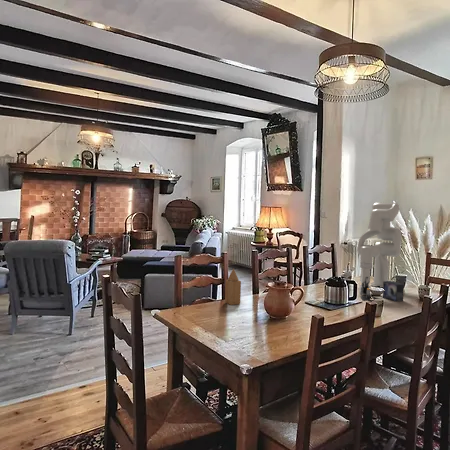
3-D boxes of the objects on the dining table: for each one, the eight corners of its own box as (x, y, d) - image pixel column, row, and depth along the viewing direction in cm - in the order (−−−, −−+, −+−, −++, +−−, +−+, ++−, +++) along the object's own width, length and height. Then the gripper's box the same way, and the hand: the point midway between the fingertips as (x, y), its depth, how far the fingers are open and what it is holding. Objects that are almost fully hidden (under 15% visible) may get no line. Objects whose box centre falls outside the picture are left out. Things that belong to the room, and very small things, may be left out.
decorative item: (234, 301, 221) (235, 267, 219) (240, 304, 215) (241, 268, 214) (224, 302, 217) (225, 267, 216) (231, 305, 212) (232, 269, 210)
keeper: (360, 297, 239) (360, 286, 239) (373, 298, 237) (374, 287, 237) (362, 300, 231) (362, 289, 231) (376, 301, 230) (376, 290, 229)
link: (359, 292, 252) (359, 285, 251) (368, 293, 250) (369, 285, 250) (360, 294, 246) (360, 287, 245) (370, 295, 244) (370, 287, 244)
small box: (381, 297, 240) (382, 281, 239) (389, 296, 242) (390, 280, 242) (395, 301, 230) (396, 284, 229) (403, 300, 233) (404, 283, 232)
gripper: (358, 263, 256) (356, 288, 257) (361, 267, 239) (360, 294, 240) (370, 263, 255) (368, 289, 256) (374, 268, 238) (373, 295, 239)
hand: (364, 292), depth 248 cm, fingers open, 8 cm apart
